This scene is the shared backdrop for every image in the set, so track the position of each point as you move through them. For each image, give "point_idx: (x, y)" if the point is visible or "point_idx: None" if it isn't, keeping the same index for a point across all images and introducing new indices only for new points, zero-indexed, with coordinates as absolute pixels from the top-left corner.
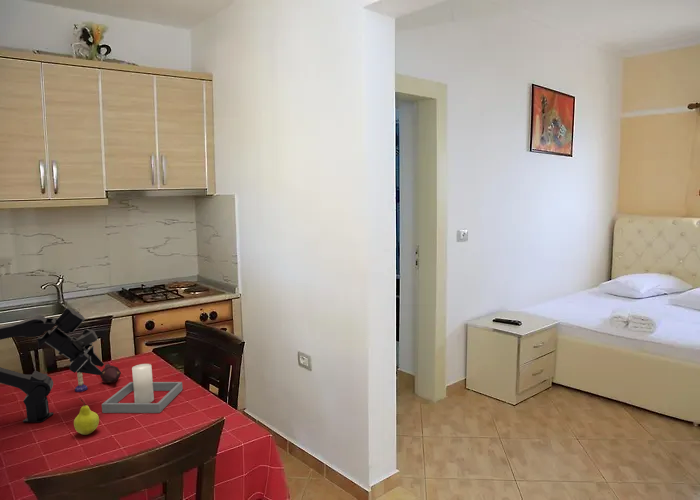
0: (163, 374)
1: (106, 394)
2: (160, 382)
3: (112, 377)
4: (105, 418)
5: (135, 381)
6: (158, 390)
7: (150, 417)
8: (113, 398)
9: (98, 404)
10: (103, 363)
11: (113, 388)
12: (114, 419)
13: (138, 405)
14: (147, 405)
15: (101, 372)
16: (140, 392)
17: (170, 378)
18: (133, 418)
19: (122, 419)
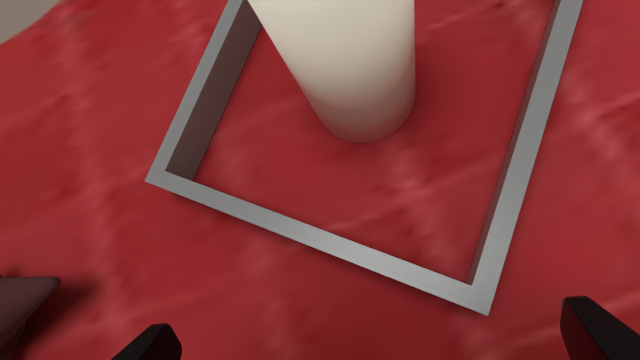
0: (48, 67)
1: (182, 322)
2: (228, 13)
3: (42, 296)
4: (585, 278)
5: (395, 47)
6: (249, 50)
7: (635, 19)
8: (372, 249)
9: (324, 353)
10: (146, 331)
11: (110, 292)
12: (618, 218)
13: (561, 68)
14: (577, 15)
15: (597, 307)
16: (414, 63)
17: (114, 27)
18: (628, 108)
19: (630, 169)
